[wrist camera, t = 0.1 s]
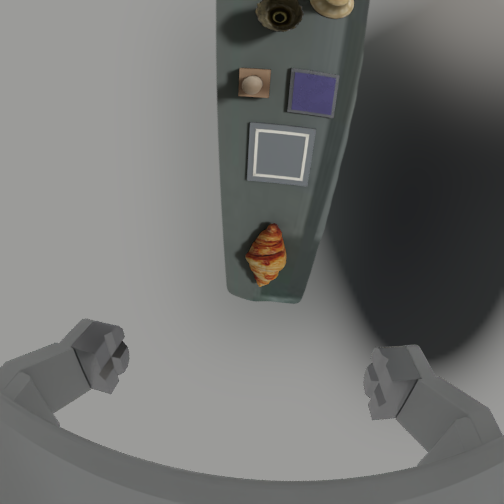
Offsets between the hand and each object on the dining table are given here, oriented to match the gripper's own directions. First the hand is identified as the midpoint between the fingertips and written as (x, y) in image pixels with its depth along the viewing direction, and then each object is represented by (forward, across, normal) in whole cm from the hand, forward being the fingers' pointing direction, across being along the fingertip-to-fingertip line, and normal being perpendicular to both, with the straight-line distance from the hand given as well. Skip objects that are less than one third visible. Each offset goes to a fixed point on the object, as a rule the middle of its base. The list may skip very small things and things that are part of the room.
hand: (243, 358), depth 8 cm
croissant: (+62, +1, +20) cm, 66 cm away
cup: (+44, 0, -32) cm, 54 cm away
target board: (+53, -1, -5) cm, 54 cm away
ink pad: (+49, -7, -18) cm, 52 cm away
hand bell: (+43, -10, -37) cm, 57 cm away
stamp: (+48, +4, -19) cm, 52 cm away
